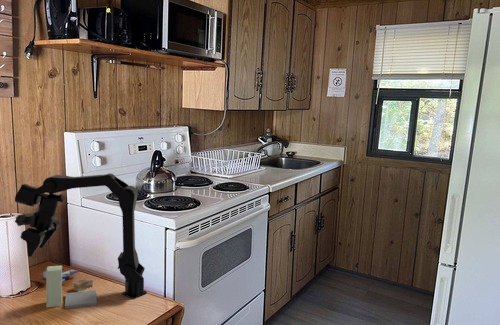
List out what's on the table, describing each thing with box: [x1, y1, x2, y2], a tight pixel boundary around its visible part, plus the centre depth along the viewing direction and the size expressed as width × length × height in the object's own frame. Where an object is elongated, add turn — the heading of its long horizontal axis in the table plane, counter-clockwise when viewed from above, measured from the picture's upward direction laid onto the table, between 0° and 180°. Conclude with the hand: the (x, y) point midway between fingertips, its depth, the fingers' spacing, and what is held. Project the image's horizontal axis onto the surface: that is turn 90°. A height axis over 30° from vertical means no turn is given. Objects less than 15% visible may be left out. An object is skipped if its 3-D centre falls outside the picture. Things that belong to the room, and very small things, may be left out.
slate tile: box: [64, 289, 98, 310], centre depth 137 cm, size 10×10×1 cm
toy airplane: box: [42, 268, 84, 283], centre depth 152 cm, size 13×14×4 cm
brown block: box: [72, 277, 94, 292], centre depth 147 cm, size 6×3×3 cm, turn 146°
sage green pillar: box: [45, 265, 63, 308], centre depth 133 cm, size 4×4×12 cm
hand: (35, 251), depth 139 cm, fingers open, 9 cm apart
